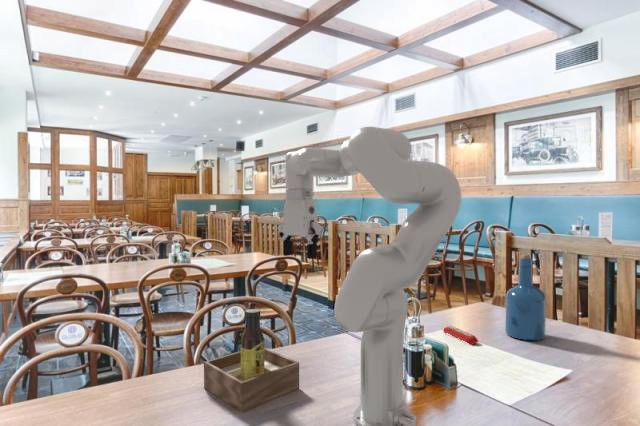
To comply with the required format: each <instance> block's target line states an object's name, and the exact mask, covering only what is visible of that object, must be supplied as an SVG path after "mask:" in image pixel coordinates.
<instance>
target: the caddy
mask: <svg viewBox="0 0 640 426" xmlns="http://www.w3.org/2000/svg"><path fill="white" fill-rule="evenodd" d="M203 389H205V390H207V391H208V392H209V393H211V394H213V395H214V396H215V397H217V398H219V399H220V400H222V401H224V402H225V403H227V404H228V405H229V406H231V407H232V408H234V409H236V410H237V411H238V412H240V413H241V414H242V413H245V412H247V411H250V410H251V409H254V408H256V407H260V406H261V405H263V404H265V403H268V402H270V401H273V400H275V399H277V398H280V397H283V396H284V395H287V394H290V393H292V392H294V391H297V390H299V389H300V362H299V361H296V360H294V359H291V358H290V357H287V356H285V355H282V354H280V353H278V352H275V351H273V350H271V349H269V348H267V347H265V373H264V374H262V375H259V376H256V377H253V378H251V379H248V380H245V381H241V350H240V351H236V352H233V353H230V354H226V355H223V356H219V357H216V358H213V359H209V360H207V361H203Z"/></svg>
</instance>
